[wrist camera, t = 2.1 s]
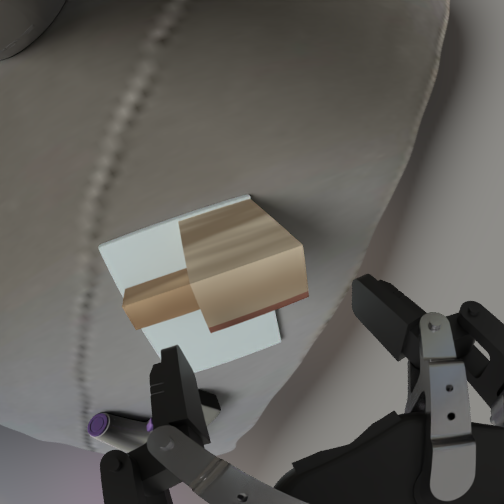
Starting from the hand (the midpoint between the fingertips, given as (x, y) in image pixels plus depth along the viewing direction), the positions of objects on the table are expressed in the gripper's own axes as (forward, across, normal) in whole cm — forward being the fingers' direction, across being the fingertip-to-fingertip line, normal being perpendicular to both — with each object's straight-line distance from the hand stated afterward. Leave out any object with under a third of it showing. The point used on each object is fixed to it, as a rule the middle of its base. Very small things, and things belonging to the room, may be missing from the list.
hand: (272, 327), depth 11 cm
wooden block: (+11, 0, 0) cm, 11 cm away
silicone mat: (+12, +3, +6) cm, 13 cm away
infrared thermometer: (+12, +15, +20) cm, 28 cm away
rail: (+12, +5, +3) cm, 13 cm away
